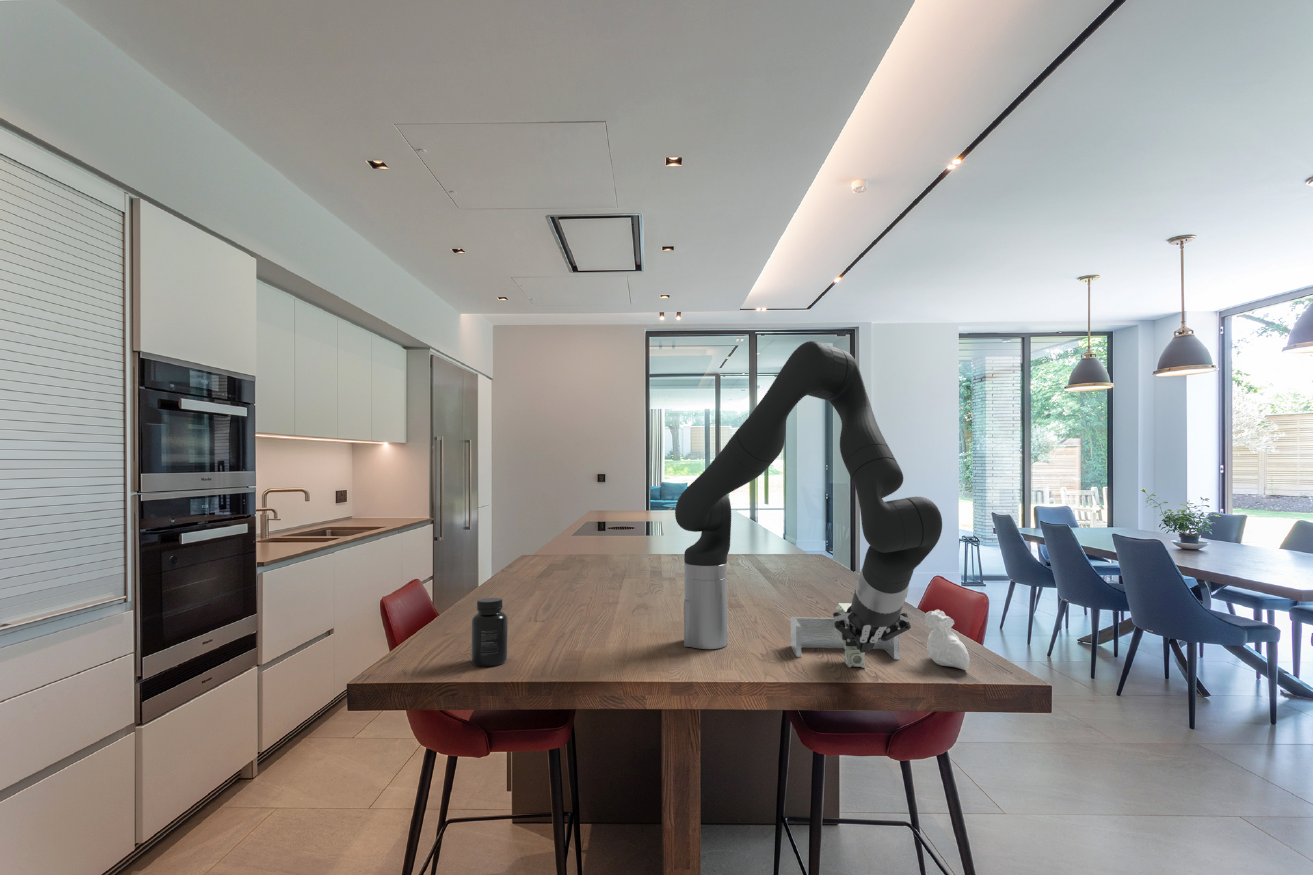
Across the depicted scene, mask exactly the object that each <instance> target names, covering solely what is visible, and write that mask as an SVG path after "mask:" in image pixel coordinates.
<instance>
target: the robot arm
mask: <svg viewBox="0 0 1313 875" xmlns="http://www.w3.org/2000/svg"><path fill="white" fill-rule="evenodd" d="M806 396H810V397H813V398H817V399H819V400H824V401H825V400H826V401H828V402H829V403H830V404H831V405H832V407H833V408H834V409H835V411H836V412H837V414H838V416H839V419H840V422H841V430H840V436H839V450H840V455H841V459H842V461H843V463H844V466H845V469H846V470H847V472H848V474H849V476H850V478H851V479H850V480H851V481H852V482H853V485H854V488H855V490H856V495H857V499H858V505H859V511H860V517H861V518H860V519H861V528H862V533H863V536H864V539H865V540H866V542H867V543H868V545H869V546H868V548H867V551H866V554H865V557H864V560H863V565H862V568H861V570H860V572H859V574H858V577H857V581H856V585H855V588H854V592H853V595H852V599H851V601H852V604H851V606H850V607H849V608H848V609H847V613H845V614H842V615H841V614H840V613H839V612H837V611H834V612H835V613H834V612H833V613H832V616H833V617H832V618H834V623H835V628H836V629H838V630H839V631H840V632H841V633H843V634H844V635H845V636H846V637H847V638H849V639H850V640H851V641H855V642H856V647H857V650H860V652H861V653H864V652H865V654H866V653H870V651H872V650H874V649H873V647H874V644H875V643H876V642H877V640H879V639H881V640H882V641H887V640H889V639H891V638H893V637H895V636H897V635H899V636H900V635H901V634H903V633H904V632H907V631H909V630H911V628H912V627H911V623H910V620H909V616H908V614H907V613H905V612H903V613H902V610H903V607H904V604H905V601H906V599H907V597H908V593H909V587H910V582H911V579H912V577H913V574H914V570H915V569H916V568H917V567H918V566H919V565H921V563H922V562H923V561H924V560H925V558H927V557H928V555H929V554H930V553H931V552H932V551H933V549H934V548H936V546H937V544H938V542H939V540H940V538H941V534H942V531H943V518H942V514H941V511H940V510H939V507H938V506H937V505H936V503H934V502H933V501H932V500H931V499H929V498H927V497H924V496H910V497H905V498H899V499H894V500H893V499H892V500H887V501H884V499H883V498H886V497H888V496H889V495H892V494H894V493H895V492H896V491H898V490H899V489H900V488H901V486H902V485H903V484H904V483H903V482H904V474H903V471H902V469H901V467H900V465H899V463H898V461H897V460H896V458H895V456H894V454H893V452H892V450H891V448H890V447H889V444H888V443H887V441H886V439H885V437H884V435H883V434H882V431H881V430H880V427H879V425H878V423H877V420H876V417H875V415H874V411H873V407H872V406H871V405H872V404H871V402H870V399H869V396H868V393H867V390H866V386H865V383H864V380H863V377H862V374H861V370H860V368H859V365H858V363H857V361H856V359H855V358H854V356H853V355H852V354H851V353H849V352H848V351H846V350H843V349H841V348H838V347H835V346H832V345H829V344H825V343H822V342H819V341H814V340H813V341H812V340H811V341H810V340H808V341H806V342H803V343H801V344H800V345H799V346H798V347H797V348H796V349H795V350H793V352H792V353H791V354H790V356H789V357H788V359H787V360H786V362H785V363H784V365H783V366H782V367H781V369H780V371H779V373H778V375H777V376H776V377H775V379H774V380H773V381H772V384H771V385H770V386H769V388H768V390H767V391H766V393H765V394H764V395H763V397H762V399H761V400H760V401H759V403H758V404H757V405H756V406H755V407H754V410H752V412H751V413H750V414H749V416H748V417H747V418H746V419H745V421H743V422H742V424H741V425H740V426H739V427H738V429H737V430H735V433H734V434H733V435H732V436H731V437H730V439H729V440H728V441H727V443H726V444H725V445H724V447H723V448H722V449H721V451H719V453H718V454H717V455H716V457H715V458H714V459H713V460H712V461H711V463H710V464H709V465H708V467H706V469H705V470H704V471H703V472H702V473H701V474H700V475H699V476H698V477H697V478H696V479H694V481H693V482H692V483H691V484H690V485H688V486H687V487H686V488H685V489H684V491H683V492H682V493H681V494H680V496H679V498H678V499H677V502H676V505H675V509H674V514H675V515H674V516H675V521H676V523H677V525H678V526H679V527H680V528H681V529H683V530H685V531H688V532H692V533H693V532H695V533H696V532H698V533H699V532H701V534H700V537H699V538H698V540H697V541H696V542H695V543H693V545H691V546H689V547H687V548H686V549H685V550H684V554H683V555H684V558H683V560H684V561H683V562H684V564H683V565H684V566H683V567H684V569H683V570H684V574H683V576H684V582H683V583H684V584H683V586H684V587H683V588H684V601H683V647H689V648H692V649H693V648H694V649H700V650H716V649H722V648H724V647H726V646H727V645H728V555H729V552H730V548H731V536H732V535H731V534H732V533H731V532H732V530H731V529H732V508H731V506H732V505H731V501H730V498H729V496H728V494H730V493H733V492H734V491H735V490H738V489H739V488H741V487H743V486H745V485H746V484H748V483H751V482H752V481H754V480H755V479H757V478H758V477H760V475H762V474H763V473H764V472H765V471H767V469H768V468H769V467H770V466H771V465H772V463H774V461H775V460H776V459H777V458H778V457H779V456H780V454H781V452H782V451H783V448H784V445H785V441H786V439H785V438H786V430H787V429H786V428H787V419H788V418H789V417H788V416H789V415H790V413H791V412H792V411H793V410H794V408H795V406H796V405H797V404H799V402H800V401H801V400H803V398H805V397H806ZM852 623H853V624H854V625H855V626H856V627H857V628H855V626H854V625H853V624H852ZM888 628H890V632H888V633H887V631H886V629H888Z"/></svg>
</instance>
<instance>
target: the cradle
mask: <svg viewBox="0 0 1313 875" xmlns="http://www.w3.org/2000/svg"><path fill="white" fill-rule="evenodd" d="M886 631H887V633H888V632H890V628H888V629H886ZM844 645H845V643H844V642H843V640H842V639H841V638H840V636H839V635H838V632H837V631H836V629H835V628H834V617H817V616H815V617H807V616H806V617H803V616H790V647H791V649H792V650H793V653H794V655H795V657H796V658H802V648H809V649H811V648H813V649H816V648H818V649H819V648H820V649H844ZM872 650H885V652H887V653H888V655H889V656H890V657H891V658H892V659H893V660H897V661H898V660H900V659H901V658H900V634H899V635H897V636H895V637H893V638H891V639H889V640H887V641H882V640H881V639H879V640H877V642H876V643H875V644H874V647H873V649H872Z"/></svg>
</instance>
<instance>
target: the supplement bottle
mask: <svg viewBox="0 0 1313 875" xmlns="http://www.w3.org/2000/svg"><path fill="white" fill-rule="evenodd" d="M503 607H504V606H503V599H502V598H501V597H485V598H484V597H483V598H480V599H478V600H477V601H476V611H477V613H475V614H474V615H473V617H472V618H471V632H470V633H471V636H470V637H471V641H470V642H471V650H470V652H471V654H470V655H471V657H470V658H471V660H470V662H471V663H472V665H473V666H476V667H482V668H486V667H487V668H489V667H495V666H499V665H503V664H504V663H506V662H507V660H508V642H509V640H508V637H509V636H508V631H509V630H508V626H509V624H508V616H507V614H506V613H505V612H503V609H504V608H503Z"/></svg>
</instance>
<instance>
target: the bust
mask: <svg viewBox="0 0 1313 875" xmlns="http://www.w3.org/2000/svg"><path fill="white" fill-rule="evenodd" d="M923 620H924V624H925V626H926V628H928V629H929V628H931V629H933V630H931V631H930V632H929V633H928V637H927V639H926V640H927V641H926V642H927V643H926V649H927V650H926V651H927V653H928V655H929V657H930V659H932V661H933V662H934V663H935V664H936V665H939V666H944V667H951V668H957V669H961V670H965V671H967V670H968V669H969V667H970V661H971V660H970V655H969V652H968V650H967V647H966V645H965V644H964V643H963V642H962V641H961V640H960V639H959V636H957V634H955V633H954V632H953V631H952V630H951V628H952V627H953V626H954V625H955V620H954V619H952V618H951V617H950V616H948V615H946V613H945V612H944V611H943V610H940V609H935V610H929V611H928V612H926V613H925V615H924V619H923Z"/></svg>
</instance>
